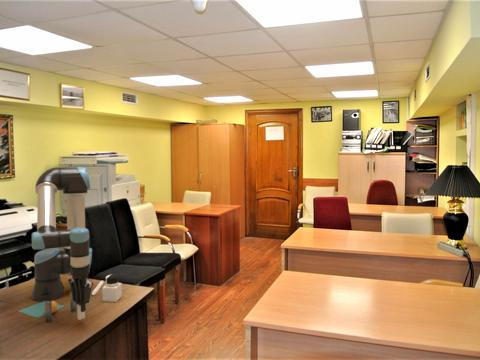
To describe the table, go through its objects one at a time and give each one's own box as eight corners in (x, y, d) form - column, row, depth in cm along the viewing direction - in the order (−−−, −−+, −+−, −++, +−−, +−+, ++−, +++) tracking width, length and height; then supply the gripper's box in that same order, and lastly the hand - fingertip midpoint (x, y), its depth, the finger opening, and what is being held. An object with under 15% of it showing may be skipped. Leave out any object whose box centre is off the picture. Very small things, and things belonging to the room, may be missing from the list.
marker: (94, 296, 196) (94, 292, 196) (90, 297, 196) (90, 292, 195) (104, 284, 214) (103, 279, 214) (100, 284, 214) (100, 280, 213)
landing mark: (17, 311, 177) (17, 310, 177) (45, 300, 189) (45, 300, 189) (37, 318, 170) (37, 317, 170) (64, 306, 183) (64, 306, 183)
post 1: (44, 321, 167) (43, 301, 166) (49, 319, 169) (48, 299, 169) (48, 323, 166) (47, 302, 165) (53, 320, 168) (52, 300, 167)
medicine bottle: (122, 296, 196) (121, 273, 195) (116, 302, 189) (115, 278, 188) (108, 295, 197) (108, 272, 196) (102, 301, 190) (101, 277, 188)
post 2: (69, 311, 178) (68, 292, 177) (74, 308, 180) (73, 290, 180) (73, 312, 177) (72, 293, 176) (77, 310, 179) (77, 291, 178)
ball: (47, 317, 173) (40, 310, 175) (58, 313, 178) (51, 305, 180) (50, 308, 171) (43, 300, 173) (61, 303, 176) (54, 296, 178)
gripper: (98, 265, 165) (99, 318, 167) (77, 260, 171) (78, 311, 173) (83, 269, 158) (84, 325, 161) (62, 264, 165) (63, 318, 167)
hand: (81, 318), depth 167 cm, fingers closed
